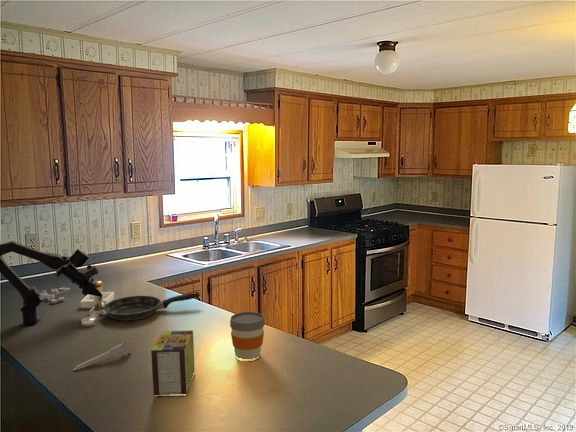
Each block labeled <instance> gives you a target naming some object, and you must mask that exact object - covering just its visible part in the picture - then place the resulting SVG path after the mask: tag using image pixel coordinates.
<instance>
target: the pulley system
mask: <svg viewBox="0 0 576 432" xmlns="http://www.w3.org/2000/svg"><path fill="white" fill-rule="evenodd" d="M50 290H51V293H48V292H47V290H39V291H40V294H41V301H42V300H47V302H50V304H53V305H54V304H55V305H56V304H57V303H60V302H62V301H65V300H66V299H65V297H64V296H58V295H60V294H63V293H66V292H70V290H71V287H60V288H52V289H50Z"/></svg>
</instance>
